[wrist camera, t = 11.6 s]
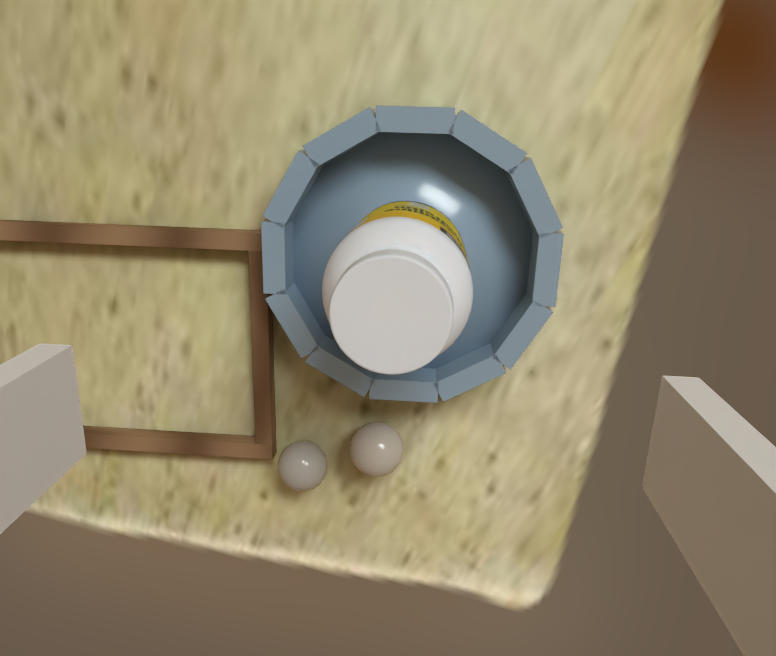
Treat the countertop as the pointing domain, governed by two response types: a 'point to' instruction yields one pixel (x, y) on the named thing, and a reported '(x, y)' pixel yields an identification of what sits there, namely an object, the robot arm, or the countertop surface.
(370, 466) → the pebble
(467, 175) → the bowl
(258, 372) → the open rectangular frame
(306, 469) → the glossy pale sphere
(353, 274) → the pill bottle
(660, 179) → the countertop surface
